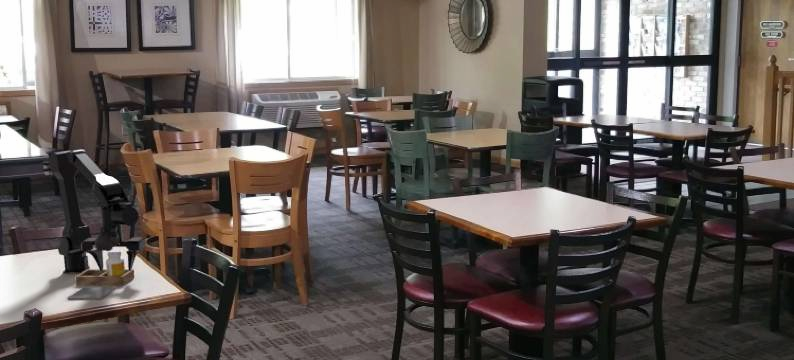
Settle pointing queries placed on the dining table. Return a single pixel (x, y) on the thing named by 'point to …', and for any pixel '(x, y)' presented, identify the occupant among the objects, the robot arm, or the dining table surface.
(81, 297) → the coaster
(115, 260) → the supplement bottle
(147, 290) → the dining table surface
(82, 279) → the brown two-compartment frame
